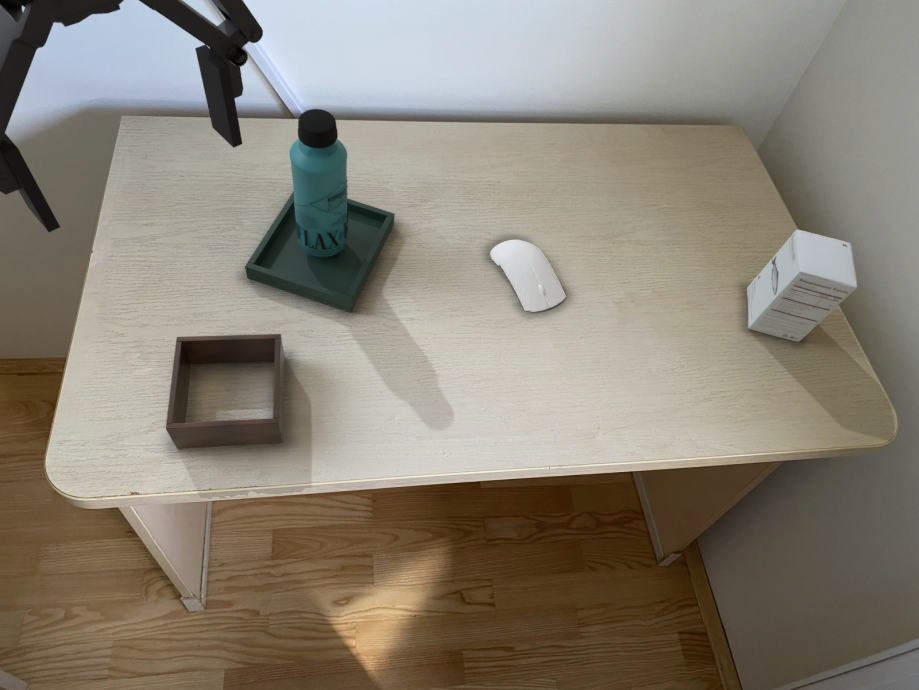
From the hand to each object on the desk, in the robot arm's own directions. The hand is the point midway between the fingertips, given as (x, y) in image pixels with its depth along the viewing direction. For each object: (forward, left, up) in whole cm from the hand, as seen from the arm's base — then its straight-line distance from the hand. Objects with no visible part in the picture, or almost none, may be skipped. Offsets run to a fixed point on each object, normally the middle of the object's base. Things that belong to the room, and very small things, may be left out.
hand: (142, 174), depth 46 cm
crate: (+1, -2, -33) cm, 33 cm away
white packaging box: (+62, -36, -33) cm, 79 cm away
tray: (+21, +9, -33) cm, 40 cm away
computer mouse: (+40, -10, -33) cm, 53 cm away
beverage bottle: (+21, +9, -32) cm, 40 cm away
